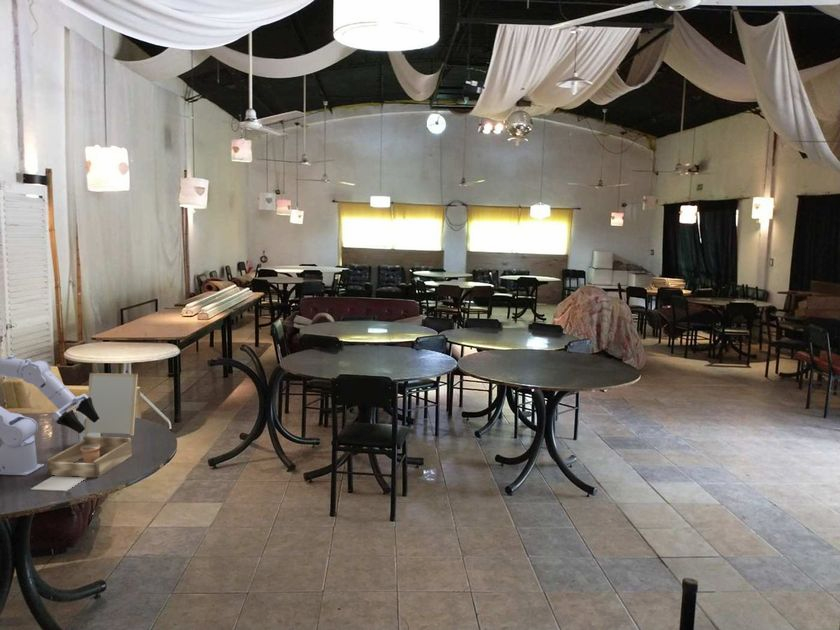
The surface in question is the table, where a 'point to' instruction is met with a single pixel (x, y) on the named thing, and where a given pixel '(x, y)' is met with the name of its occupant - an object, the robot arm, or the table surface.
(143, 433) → the table surface
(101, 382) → the lid
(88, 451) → the terracotta flower pot
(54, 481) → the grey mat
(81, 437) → the syrup box
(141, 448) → the table surface
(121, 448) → the cold frame
